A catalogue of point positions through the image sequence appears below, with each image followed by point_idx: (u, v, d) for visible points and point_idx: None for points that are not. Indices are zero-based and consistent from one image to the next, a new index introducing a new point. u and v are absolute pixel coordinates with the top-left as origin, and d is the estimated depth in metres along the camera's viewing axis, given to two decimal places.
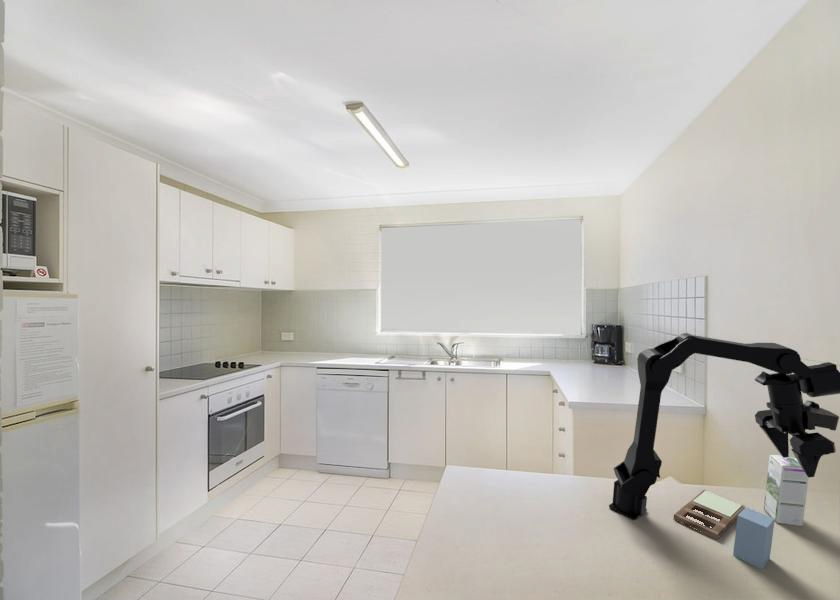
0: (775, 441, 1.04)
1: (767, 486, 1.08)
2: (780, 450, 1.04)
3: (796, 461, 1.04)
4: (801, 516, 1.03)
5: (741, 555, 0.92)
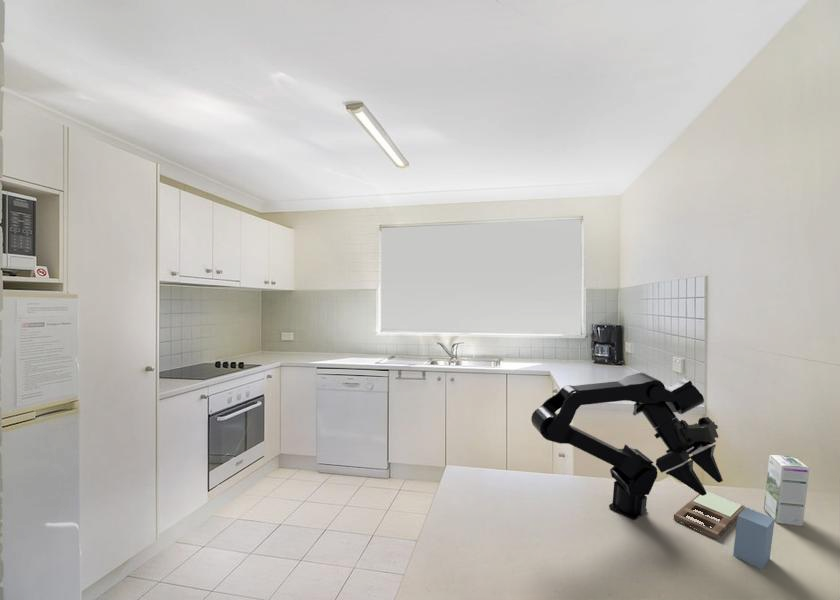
0: (703, 467, 1.03)
1: (767, 486, 1.08)
2: (711, 475, 1.02)
3: (796, 461, 1.04)
4: (801, 516, 1.03)
5: (741, 555, 0.92)
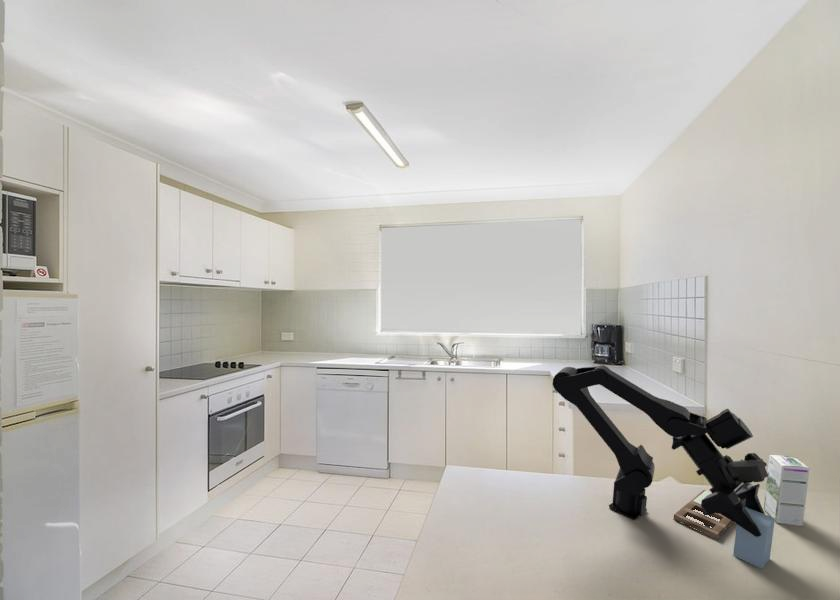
0: None
1: (767, 486, 1.08)
2: None
3: (796, 461, 1.04)
4: (801, 516, 1.03)
5: (741, 555, 0.92)
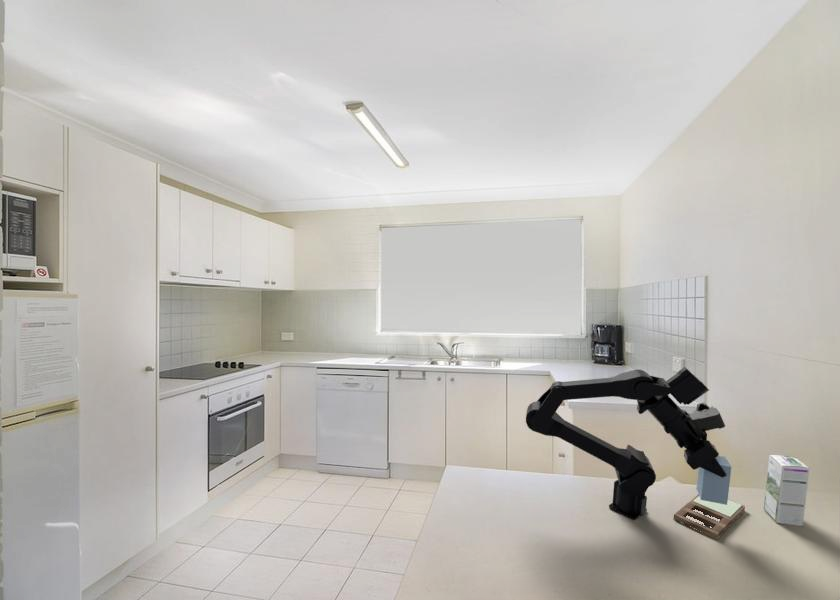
0: None
1: (767, 486, 1.08)
2: None
3: (796, 461, 1.04)
4: (801, 516, 1.03)
5: (708, 497, 1.00)
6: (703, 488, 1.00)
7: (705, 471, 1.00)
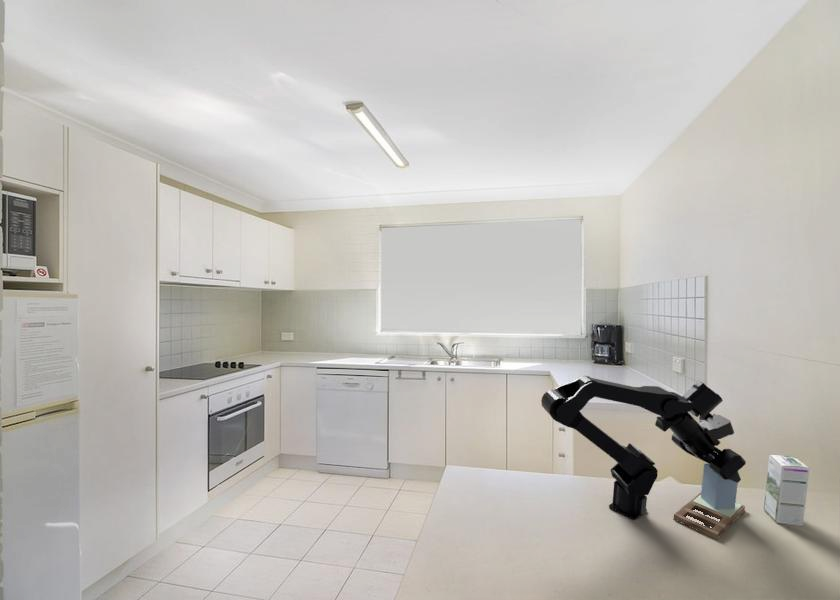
0: None
1: (767, 486, 1.08)
2: (707, 461, 1.13)
3: (796, 461, 1.04)
4: (801, 516, 1.03)
5: (720, 506, 1.07)
6: (716, 498, 1.07)
7: (718, 482, 1.06)
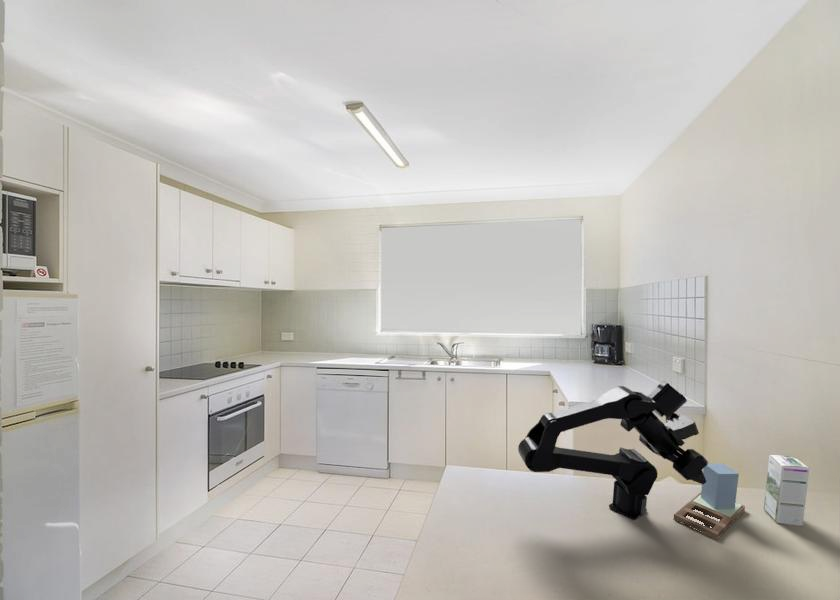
0: None
1: (767, 486, 1.08)
2: (673, 461, 1.13)
3: (796, 461, 1.04)
4: (801, 516, 1.03)
5: (720, 506, 1.07)
6: (716, 498, 1.07)
7: (718, 482, 1.06)
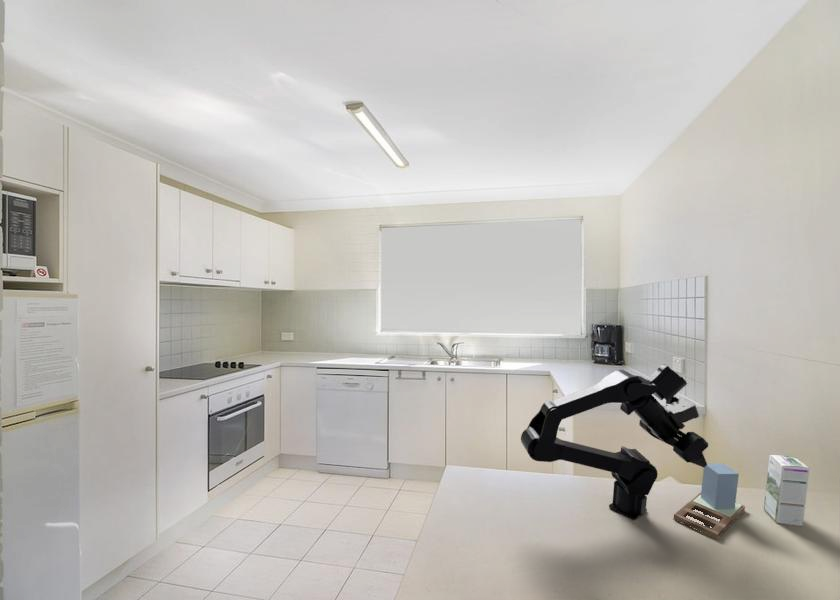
0: (665, 440, 1.12)
1: (767, 486, 1.08)
2: (673, 445, 1.12)
3: (796, 461, 1.04)
4: (801, 516, 1.03)
5: (720, 506, 1.07)
6: (716, 498, 1.07)
7: (718, 482, 1.06)
